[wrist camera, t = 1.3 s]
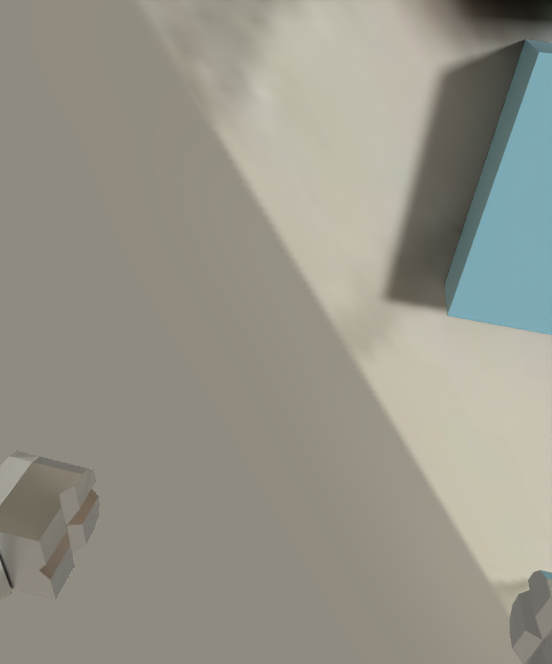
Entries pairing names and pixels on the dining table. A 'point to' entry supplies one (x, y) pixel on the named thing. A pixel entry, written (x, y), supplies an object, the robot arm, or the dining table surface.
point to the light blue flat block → (512, 211)
